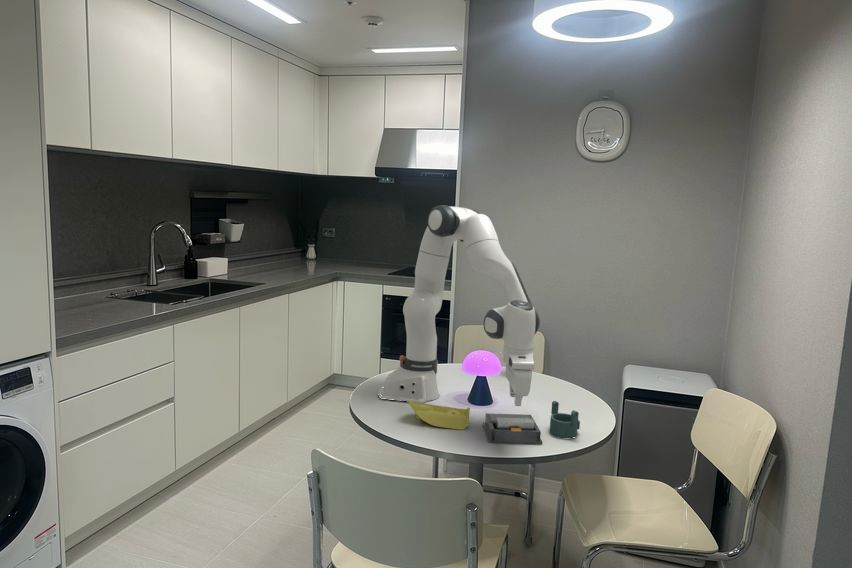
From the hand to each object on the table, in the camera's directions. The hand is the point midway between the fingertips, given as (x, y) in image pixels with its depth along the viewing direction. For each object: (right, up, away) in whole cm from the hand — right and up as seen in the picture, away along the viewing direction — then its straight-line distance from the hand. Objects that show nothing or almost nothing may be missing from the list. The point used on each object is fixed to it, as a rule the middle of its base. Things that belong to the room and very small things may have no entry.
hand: (515, 400), depth 166 cm
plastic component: (-23, -10, +14) cm, 28 cm away
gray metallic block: (0, -11, +2) cm, 11 cm away
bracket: (+17, -12, +8) cm, 22 cm away
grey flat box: (0, -11, +5) cm, 12 cm away
